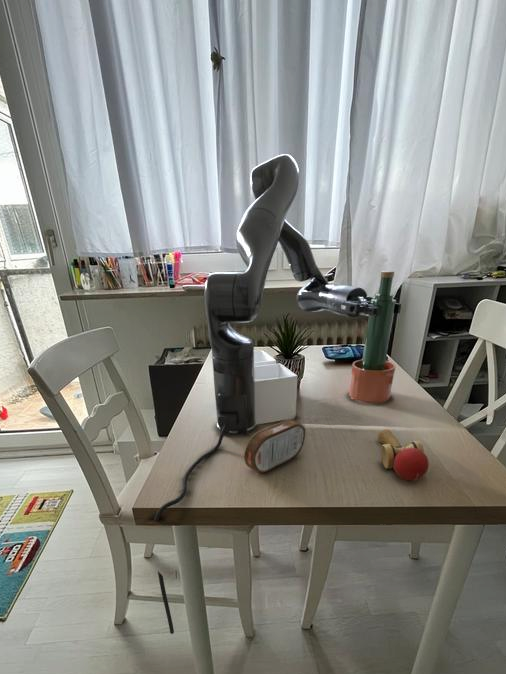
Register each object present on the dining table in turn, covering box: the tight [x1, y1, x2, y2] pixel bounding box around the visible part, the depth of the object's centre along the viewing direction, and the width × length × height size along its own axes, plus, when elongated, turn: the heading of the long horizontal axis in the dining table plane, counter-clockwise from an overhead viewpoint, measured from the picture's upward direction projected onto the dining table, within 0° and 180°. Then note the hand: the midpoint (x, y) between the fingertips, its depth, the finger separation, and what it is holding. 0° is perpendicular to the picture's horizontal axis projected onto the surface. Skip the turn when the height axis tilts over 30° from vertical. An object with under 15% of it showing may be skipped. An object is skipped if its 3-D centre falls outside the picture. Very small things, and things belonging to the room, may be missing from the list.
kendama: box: [377, 428, 430, 482], centre depth 77 cm, size 8×6×18 cm
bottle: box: [361, 270, 397, 371], centre depth 98 cm, size 6×6×23 cm
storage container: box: [254, 349, 298, 425], centre depth 104 cm, size 25×11×11 cm, turn 18°
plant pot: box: [348, 359, 397, 404], centre depth 106 cm, size 11×11×9 cm
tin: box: [243, 419, 306, 474], centre depth 77 cm, size 15×3×8 cm, turn 131°
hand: (389, 310), depth 94 cm, fingers closed on bottle, 6 cm apart
